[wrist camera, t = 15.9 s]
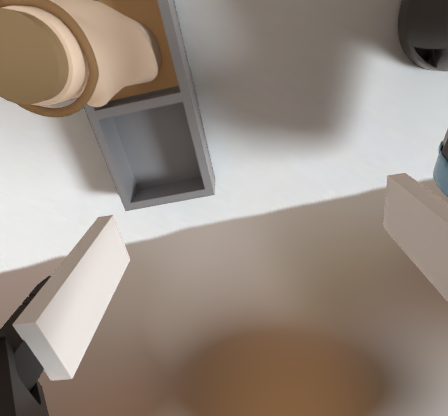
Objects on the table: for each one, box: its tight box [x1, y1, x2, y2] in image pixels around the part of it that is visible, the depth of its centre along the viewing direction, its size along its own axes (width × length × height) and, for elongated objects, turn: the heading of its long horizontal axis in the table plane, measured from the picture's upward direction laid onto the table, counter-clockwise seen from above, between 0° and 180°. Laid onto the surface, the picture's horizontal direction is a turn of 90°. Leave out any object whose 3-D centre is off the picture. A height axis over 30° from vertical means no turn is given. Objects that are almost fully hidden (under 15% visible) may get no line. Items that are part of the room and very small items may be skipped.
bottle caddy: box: [84, 0, 215, 211], centre depth 43 cm, size 14×30×6 cm, turn 11°
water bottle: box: [0, 0, 161, 117], centre depth 29 cm, size 10×9×28 cm
